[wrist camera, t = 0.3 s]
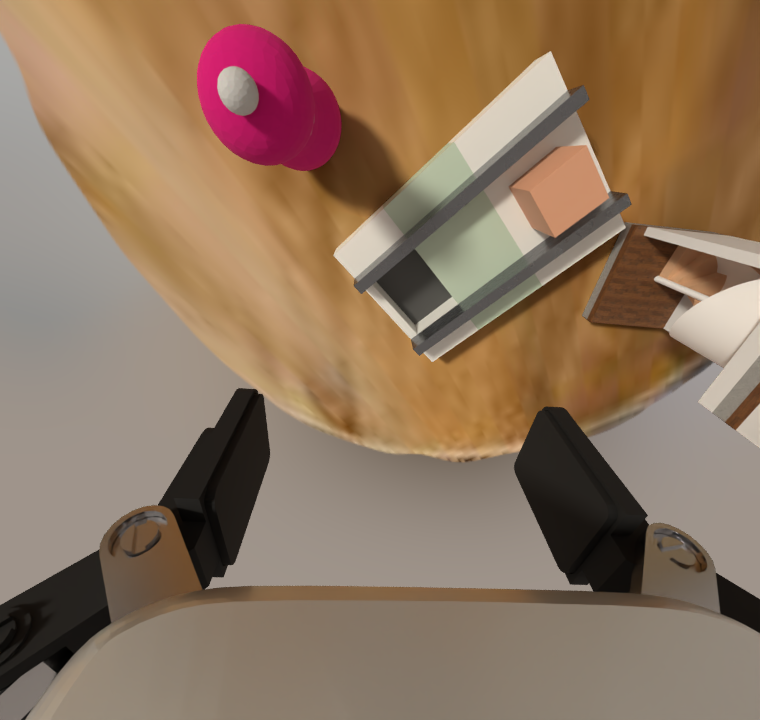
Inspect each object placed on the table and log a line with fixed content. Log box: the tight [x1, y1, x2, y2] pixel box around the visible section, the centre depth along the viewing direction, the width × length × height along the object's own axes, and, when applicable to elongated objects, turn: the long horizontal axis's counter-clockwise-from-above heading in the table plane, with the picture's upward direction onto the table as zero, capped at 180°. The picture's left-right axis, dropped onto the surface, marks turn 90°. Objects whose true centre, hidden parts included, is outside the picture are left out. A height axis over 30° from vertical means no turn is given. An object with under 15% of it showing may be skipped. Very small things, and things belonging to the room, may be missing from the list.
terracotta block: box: [509, 145, 609, 238], centre depth 30 cm, size 5×5×5 cm
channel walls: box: [354, 85, 631, 356], centre depth 33 cm, size 25×11×2 cm, turn 131°
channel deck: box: [334, 51, 626, 362], centre depth 36 cm, size 25×18×3 cm
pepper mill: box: [197, 24, 341, 171], centre depth 23 cm, size 7×7×20 cm
